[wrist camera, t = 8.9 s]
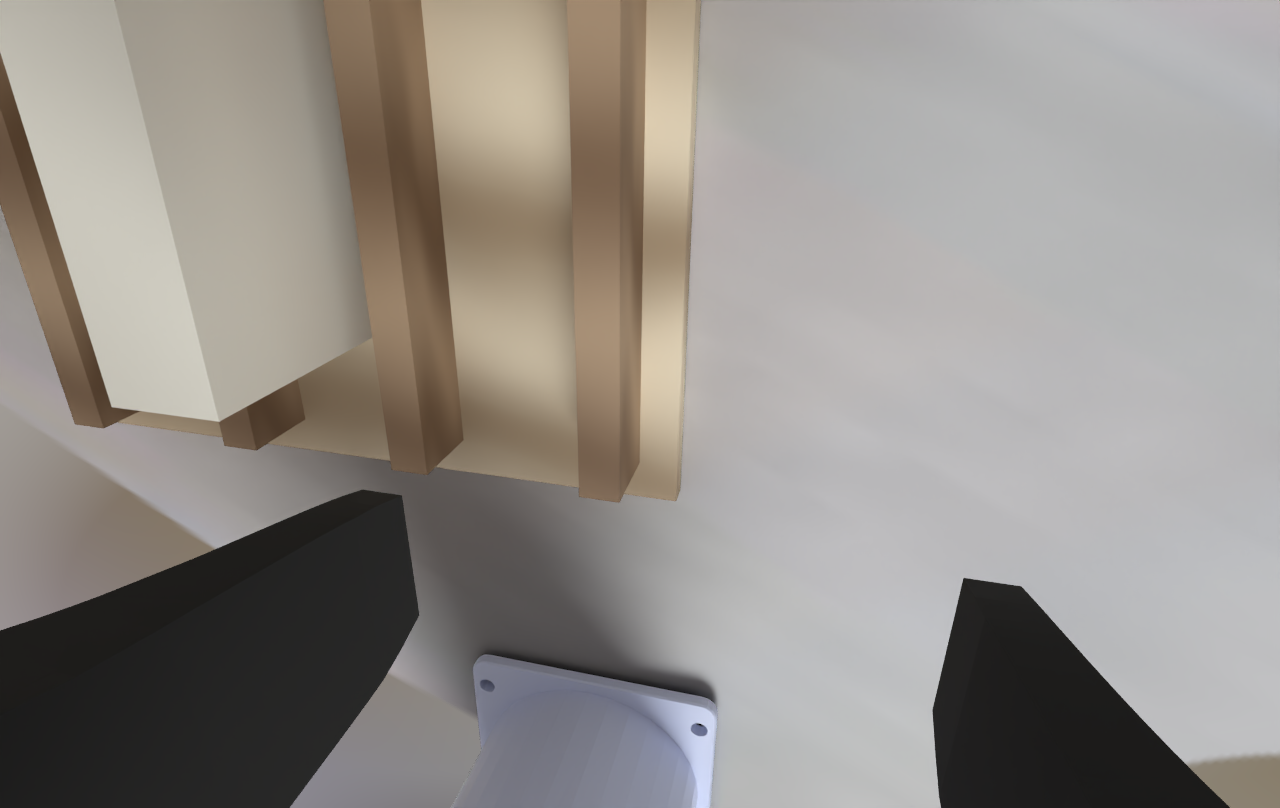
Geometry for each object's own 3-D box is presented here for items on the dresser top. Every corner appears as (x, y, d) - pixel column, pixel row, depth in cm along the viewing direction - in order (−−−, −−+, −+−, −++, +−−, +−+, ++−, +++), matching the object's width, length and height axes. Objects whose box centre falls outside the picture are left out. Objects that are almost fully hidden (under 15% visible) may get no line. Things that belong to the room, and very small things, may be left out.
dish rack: (680, 489, 20) (659, 544, 17) (134, 414, 23) (57, 451, 21) (712, -277, 13) (686, -355, 11) (-53, -206, 17) (-193, -253, 15)
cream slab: (391, 326, 19) (218, 421, 14) (308, 319, 20) (111, 407, 14) (345, -24, 16) (94, -80, 10) (246, -22, 16) (-40, -74, 11)
